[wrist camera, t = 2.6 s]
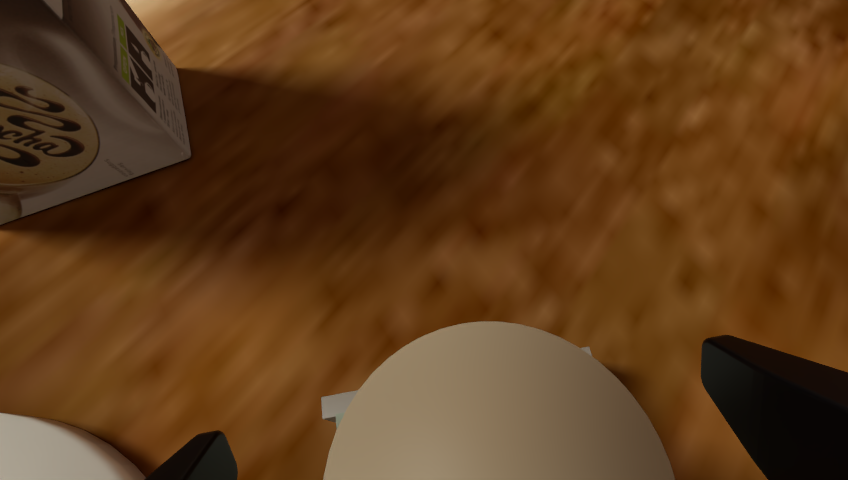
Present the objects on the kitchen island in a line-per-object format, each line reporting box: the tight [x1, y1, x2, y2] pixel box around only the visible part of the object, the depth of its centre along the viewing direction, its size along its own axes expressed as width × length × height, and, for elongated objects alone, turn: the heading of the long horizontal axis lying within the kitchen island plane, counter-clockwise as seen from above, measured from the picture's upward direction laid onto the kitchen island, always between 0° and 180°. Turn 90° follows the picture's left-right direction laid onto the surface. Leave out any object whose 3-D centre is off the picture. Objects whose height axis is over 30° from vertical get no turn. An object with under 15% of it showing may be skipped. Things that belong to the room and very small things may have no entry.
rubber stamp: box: [321, 322, 675, 480], centre depth 9 cm, size 5×8×12 cm, turn 100°
